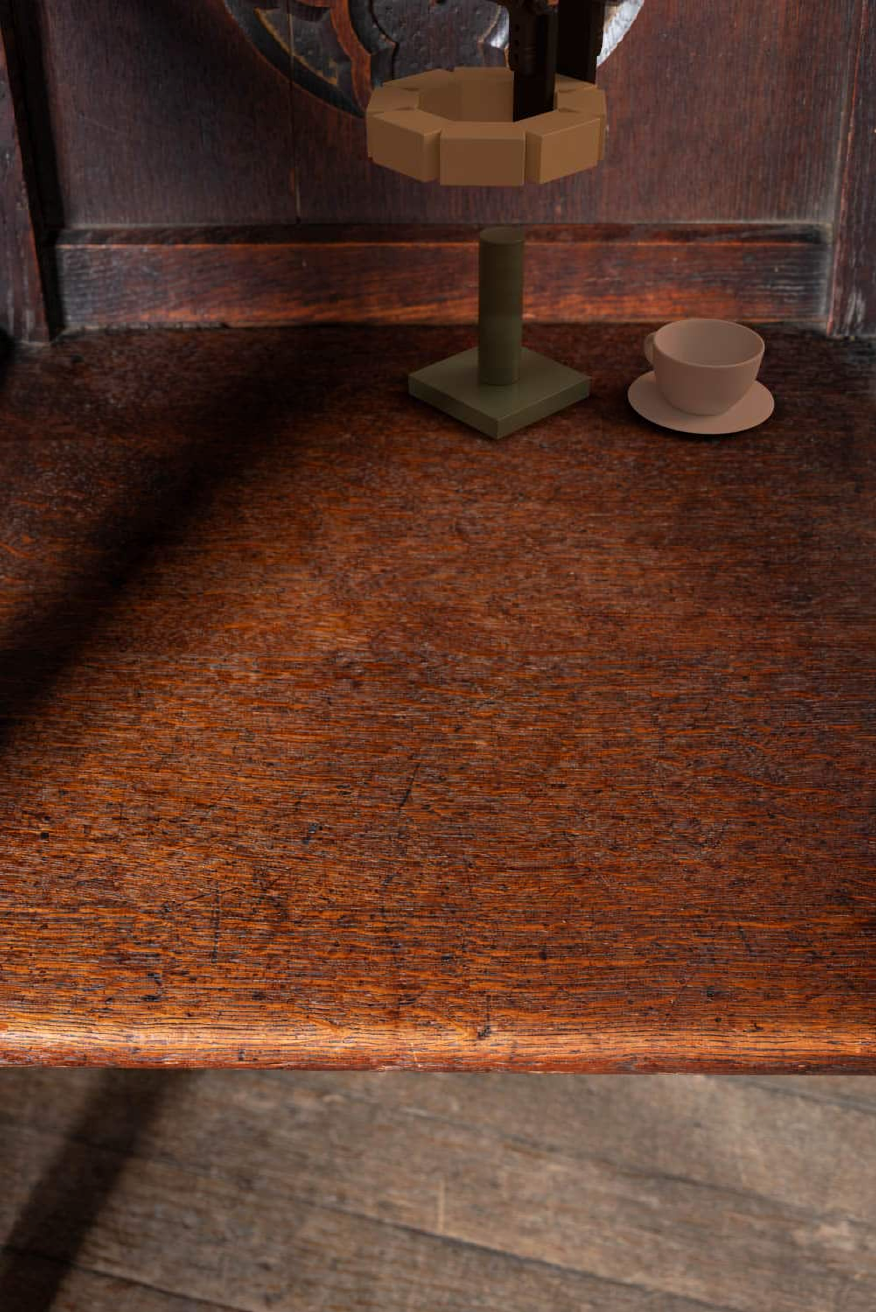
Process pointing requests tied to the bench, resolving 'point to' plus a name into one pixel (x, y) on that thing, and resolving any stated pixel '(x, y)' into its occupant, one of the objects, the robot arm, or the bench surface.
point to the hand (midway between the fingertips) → (553, 121)
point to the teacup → (703, 378)
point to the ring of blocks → (482, 129)
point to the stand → (499, 354)
